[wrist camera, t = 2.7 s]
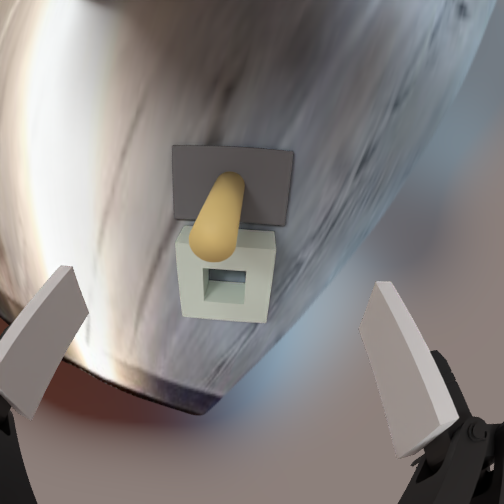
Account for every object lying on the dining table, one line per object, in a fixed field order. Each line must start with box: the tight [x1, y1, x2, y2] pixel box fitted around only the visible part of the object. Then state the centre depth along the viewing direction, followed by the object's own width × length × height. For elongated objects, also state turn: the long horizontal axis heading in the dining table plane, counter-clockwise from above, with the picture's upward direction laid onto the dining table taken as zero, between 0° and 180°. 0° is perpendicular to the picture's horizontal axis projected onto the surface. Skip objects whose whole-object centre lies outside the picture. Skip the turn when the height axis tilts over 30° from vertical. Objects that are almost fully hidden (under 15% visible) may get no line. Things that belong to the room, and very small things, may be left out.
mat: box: [172, 145, 294, 226], centre depth 28 cm, size 12×8×1 cm, turn 86°
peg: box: [189, 172, 245, 262], centre depth 22 cm, size 3×3×12 cm
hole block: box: [175, 226, 276, 323], centre depth 31 cm, size 10×10×4 cm
